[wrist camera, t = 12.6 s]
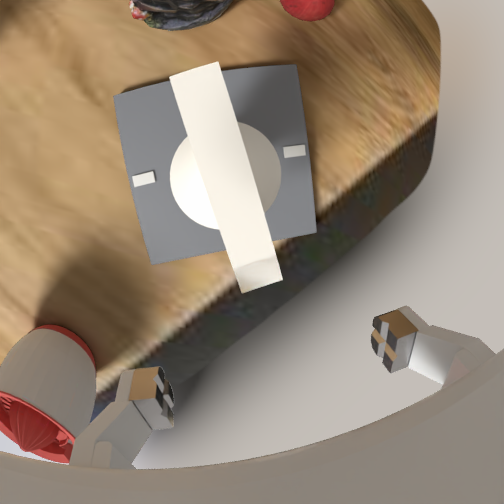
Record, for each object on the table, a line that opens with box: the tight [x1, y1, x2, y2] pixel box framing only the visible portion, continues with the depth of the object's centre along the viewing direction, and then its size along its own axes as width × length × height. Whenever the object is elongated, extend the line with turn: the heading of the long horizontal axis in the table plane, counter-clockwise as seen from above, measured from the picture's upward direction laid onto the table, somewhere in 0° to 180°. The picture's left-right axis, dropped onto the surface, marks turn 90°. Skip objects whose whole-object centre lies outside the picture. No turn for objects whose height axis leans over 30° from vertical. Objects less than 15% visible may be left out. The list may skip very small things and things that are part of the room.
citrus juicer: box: [0, 324, 96, 463], centre depth 29 cm, size 16×17×20 cm
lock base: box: [113, 64, 316, 265], centre depth 27 cm, size 20×20×10 cm
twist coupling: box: [169, 62, 283, 293], centre depth 20 cm, size 15×8×6 cm, turn 16°
